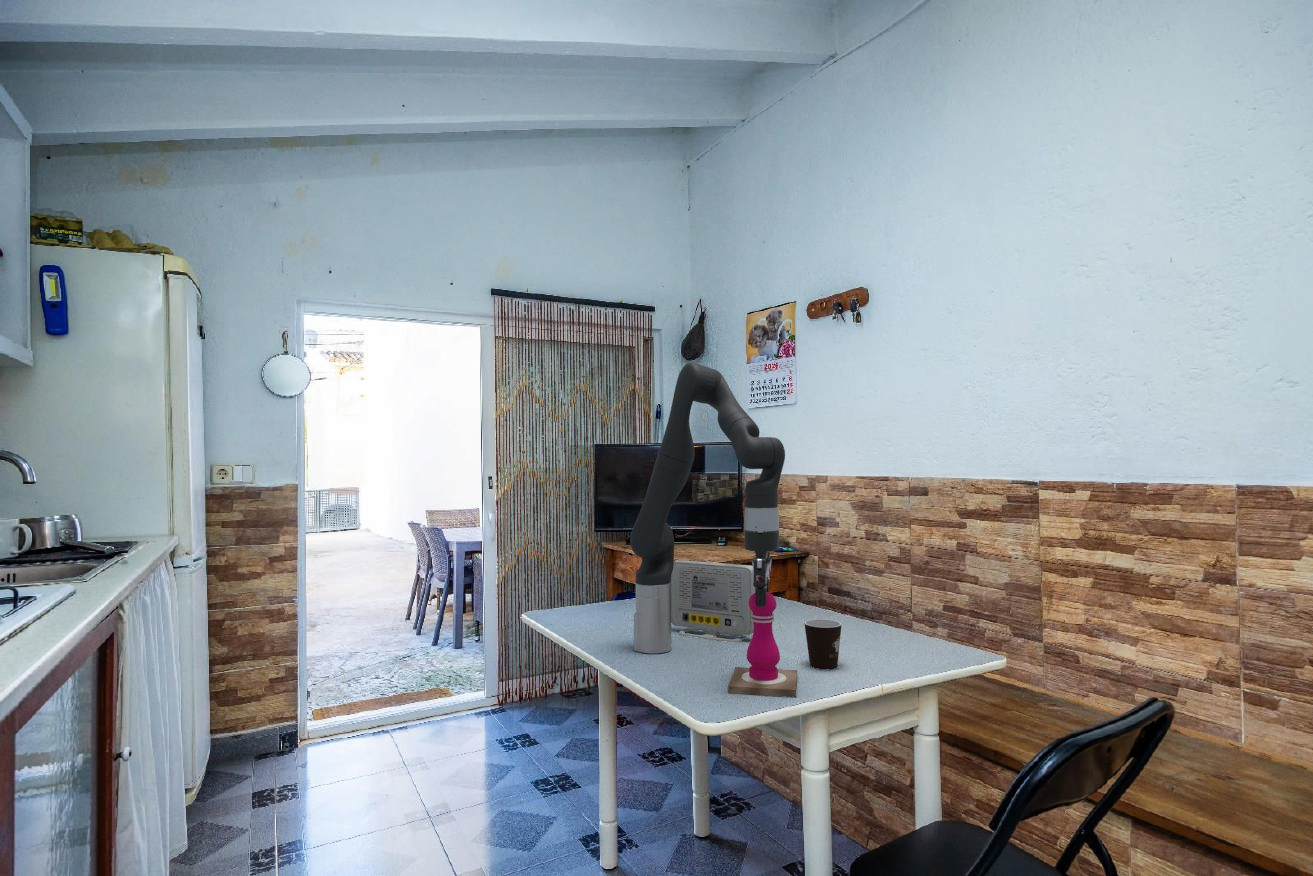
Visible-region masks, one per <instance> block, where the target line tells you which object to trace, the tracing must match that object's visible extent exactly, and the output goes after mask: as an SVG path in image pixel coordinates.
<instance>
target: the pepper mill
mask: <svg viewBox="0 0 1313 876" xmlns="http://www.w3.org/2000/svg"><path fill="white" fill-rule="evenodd" d="M749 608H750V610H751V611H752V612H753V613H752V614H751V616H752V618H751V620H752V621H753V626H754V628H753V633H752V636H751V640H750V642H749V644H748V647H747V649H746V660H747V662H748V663H749V665H750V666H749V667H748V668H749V676H750V678H752V679H755V680H760V681H769V680H774V679H777V677H778V668H777V667H776V666H777V665H778V664H779V662H780V661H781V655H780V650H779V645H777V642H776V639H775V637H774V633H773V622H775V615H774V611H776V609H777V600H776V598H775V596H774V595H773V594H772V593H770V591H769V592H766V606H765V607H757V606H756V605H755V593H754V594H752V595H751V597H750V599H749Z"/></svg>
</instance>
